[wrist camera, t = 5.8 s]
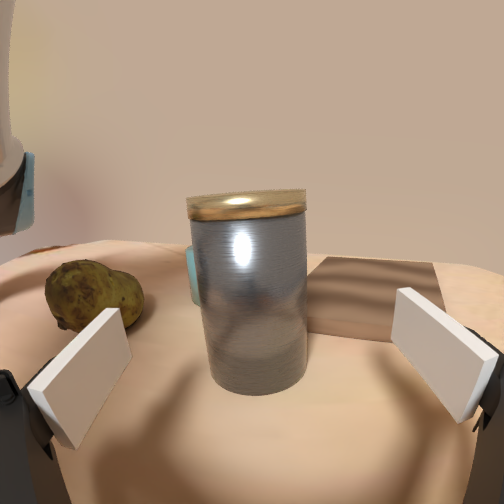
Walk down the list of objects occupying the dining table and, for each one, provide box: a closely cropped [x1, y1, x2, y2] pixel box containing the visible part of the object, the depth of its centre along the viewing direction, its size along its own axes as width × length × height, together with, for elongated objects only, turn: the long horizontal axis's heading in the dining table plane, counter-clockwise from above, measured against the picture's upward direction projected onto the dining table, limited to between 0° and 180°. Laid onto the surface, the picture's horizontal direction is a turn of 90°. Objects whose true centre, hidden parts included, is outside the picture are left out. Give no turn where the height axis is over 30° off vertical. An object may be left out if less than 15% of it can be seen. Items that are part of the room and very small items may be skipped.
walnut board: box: [307, 257, 446, 342], centre depth 30 cm, size 20×16×2 cm
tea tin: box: [186, 189, 307, 396], centre depth 19 cm, size 7×7×12 cm
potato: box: [45, 259, 144, 333], centre depth 25 cm, size 8×13×8 cm, turn 157°
